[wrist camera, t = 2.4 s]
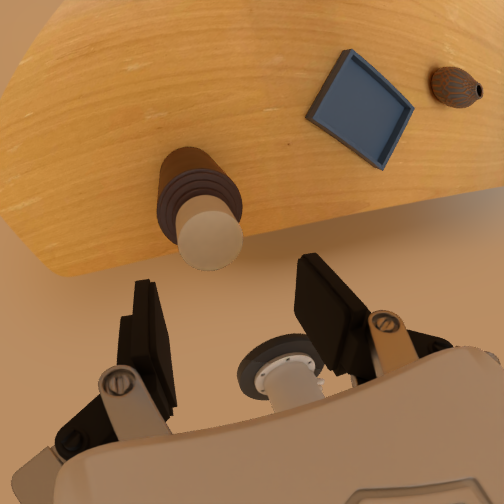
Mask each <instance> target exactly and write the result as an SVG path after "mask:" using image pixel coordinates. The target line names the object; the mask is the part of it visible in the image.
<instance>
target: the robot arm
mask: <svg viewBox="0 0 504 504" xmlns="http://www.w3.org/2000/svg"><path fill="white" fill-rule="evenodd" d="M294 312H295V316H296V318H297V319H298V321H299V323H300V324H301V326H302V327H303V329H304V331H305V332H306V334H307V336H308V337H309V339H310V340H311V342H312V344H313V345H314V347H315V349H316V350H317V352H318V353H319V355H320V357H321V358H322V360H323V361H324V363H325V365H326V366H327V368H328V369H329V370H330V371H331V370H333V372H334V373H335V375H336V376H340V375H343V374H345V373H348V374H350V375H351V382H352V386H353V388H351V389H348V390H345V391H343V392H340V393H337V394H334V395H332V396H329V397H326V398H325V396H324V395H323V393H322V386H321V385H322V384H324V379H320V378H316V376H315V375H314V373H313V372H314V370H315V363H314V361H313V359H312V358H311V356H309V355H308V354H305V353H301V352H293V353H287V354H283V355H280V356H278V357H276V358H274V359H272V360H270V361H269V362H267V363H266V364H265V365H263V366H262V367H261V368H260V370H259V371H258V372H257V374H256V376H255V379H254V384H255V387H256V389H257V391H258V392H260V393H261V394H264V395H268V398H269V400H270V403H271V405H272V408H273V410H274V412H275V413H274V414H270V415H267V416H262V417H259V418H255V419H250V420H246V421H242V422H238V423H233V424H228V425H223V426H219V427H213V428H208V429H202V430H196V431H190V432H184V433H177V434H172V432H171V431H170V429H169V427H168V426H167V424H166V421H167V420H168V419H169V418H170V416H173V407H177V400H176V394H175V386H174V378H173V370H172V363H171V362H172V361H171V353H170V343H169V336H168V332H167V328H166V324H165V320H164V316H163V312H162V308H161V304H160V301H159V296H158V292H157V288H156V283H155V282H150V280H149V279H146V280H139V281H136V282H135V291H134V302H133V314H132V315H129V316H122V317H121V320H120V330H119V341H118V353H117V366H113V367H111V368H109V369H107V370H106V371H105V372H104V373H103V374H102V375H101V377H100V379H99V382H98V387H99V392H100V394H99V395H98V396H97V397H96V398H95V399H93V400H92V401H91V402H90V403H89V404H88V405H87V406H86V407H85V408H84V409H82V410H81V411H80V412H79V413H78V414H77V415H76V416H74V417H73V418H72V419H71V420H70V421H69V422H68V423H67V424H65V425H64V426H63V427H62V428H61V429H60V430H59V431H58V433H57V435H56V438H55V445H54V446H53V447H51V448H50V447H49V446H47V447H46V448H45V449H43V450H42V451H41V452H40V453H39V454H38V455H36V456H35V457H34V458H32V459H31V460H30V461H29V462H28V463H26V464H25V465H24V466H23V467H21V468H20V469H19V470H18V471H16V472H15V474H14V475H13V477H12V480H11V486H12V489H13V492H14V494H15V496H16V497H17V499H18V500H19V502H20V503H21V504H504V369H503V368H502V367H501V365H500V362H499V359H498V358H497V357H496V356H495V355H494V354H492V353H490V352H486V351H483V350H481V349H479V348H476V347H471V346H462V347H460V346H456V347H453V345H452V344H451V343H450V342H448V341H447V340H445V339H443V338H440V337H435V336H431V335H427V334H423V333H419V332H415V331H411V330H407V329H406V327H405V325H404V323H403V321H402V319H401V318H400V317H399V316H398V315H397V314H395V313H393V312H390V311H386V310H379V311H375V312H373V313H371V312H370V311H369V310H368V309H367V307H366V306H365V305H364V303H363V302H362V301H361V300H360V299H359V298H358V297H357V296H356V295H355V294H354V293H353V291H352V290H351V289H350V288H349V287H348V286H347V285H346V284H345V283H344V282H343V281H342V280H341V279H340V278H339V276H338V275H337V274H336V273H335V272H334V271H333V270H332V269H331V268H330V267H329V266H328V265H327V264H326V263H325V262H324V261H323V260H322V258H321V257H320V256H319V255H318V254H317V253H310V254H304V255H302V257H301V258H300V259H298V263H297V277H296V290H295V303H294Z"/></svg>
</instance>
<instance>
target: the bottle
mask: <svg viewBox="0 0 504 504" xmlns="http://www.w3.org/2000/svg"><path fill="white" fill-rule="evenodd" d="M200 195H211V196H215V197H217V198H219V199H221V200H222V201H223V202H225V203H226V205H227V206H228V207H229V209H230V211H231V212H232V214H233V215H234V217H235V218H236V220H237V222H238V223H239V222H240V219H241V215H242V199H241V195H240V193H239V190H238V188H237V187H236V185H235V184H234V183H233V181H232V180H231V179H230V178H229V177H228V176H227V175H226V174H225V173H224V172H223V170H222V169H221V168H220V167H219V166H218V165H217V164H216V163H215V162H214V161H213V160H212V158H211V157H210V156H209V155H208V154H207V153H205V152H204V151H202V150H201V149H198V148H195V147H183V148H179V149H177V150H175V151H173V152H172V153H170V154H169V155H168V156H167V157H166V159H165V160H164V162H163V164H162V166H161V170H160V178H159V188H158V200H157V219H158V223H159V226H160V228H161V230H162V232H163V233H164V234H165V236H166V237H167V238H168V239H169V240H170V241H172V242H173V243H174V244H176V245H178V242H177V233H176V216H177V213H178V211H179V209H180V208H181V206H182V205H183V204H184V203H185V202H187V201H188V200H189V199H191V198H193V197H196V196H200Z"/></svg>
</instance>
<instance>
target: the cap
mask: <svg viewBox="0 0 504 504" xmlns="http://www.w3.org/2000/svg"><path fill="white" fill-rule="evenodd" d="M176 233H177V242H178V249H179V252H180V255H181V256H182V258H183V259H184V261H185V262H186V263H187V264H189V265H190V266H191V267H193V268H196V269H198V270H203V271H214V270H218V269H221V268H224V267H226V266H227V265H229V264H230V263H231V262H233V260H235V259H236V257H237V256H238V254H239V253H240V251H241V248H242V245H243V232H242V229H241V227H240V225H239V223H238V222H237V220H236V218H235V217H234V215H233V214H232V212H231V211H230V209H229V207H228V206H227V205H226V203H225V202H223V201H222V200H221V199H219V198H217V197H215V196H211V195H200V196H196V197H193V198H191V199H189V200H188V201H187V202H185V203H184V204H183V205H182V206H181V208H180V209H179V211H178V213H177V216H176Z"/></svg>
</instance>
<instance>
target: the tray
mask: <svg viewBox="0 0 504 504" xmlns="http://www.w3.org/2000/svg"><path fill="white" fill-rule="evenodd" d="M414 109H415V108H414V107H413V106H412V105H411V104H410V102H409V101H408V100H407V99H406V98H405V97H404V96H403V95H402V94H401V93H400V92H399V91H398V90H397V89H396V88H395V87H394V86H393V85H392V84H391V83H390V82H389V81H388V80H387V79H386V78H385V77H384V76H382V75H381V74H380V73H379V72H378V71H377V70H376V69H375V68H374V67H373V66H372V65H370V64H369V63H368V62H367V61H366V60H365V59H364V58H362V57H361V56H360V55H359V54H358V53H356V52H355V51H354V50H353V49H348V50H343V52H342V54H341V55H340V57H339V59H338V61H337V62H336V64H335V66H334V68H333V69H332V71H331V73H330V74H329V76H328V78H327V80H326V81H325V83H324V85H323V87H322V89H321V90H320V92H319V94H318V96H317V97H316V99H315V101H314V103H313V104H312V106H311V108H310V110H309V111H308V113H307V115H306V117H305V118H306V119H308V120H309V121H311V122H312V123H314V124H315V125H317V126H318V127H320V128H321V129H323V130H324V131H326V132H327V133H328V134H330V135H331V136H333V137H334V138H336V139H337V140H338V141H340V142H341V143H343V144H344V145H345V146H347V147H348V148H350V149H351V150H352V151H354V152H355V153H356V154H358V155H359V156H360V157H362V158H363V159H364V160H366V161H367V162H368V163H369V164H371V165H372V166H373V167H374V168H377V169H380V170H382V171H383V170H384V168H385V166H386V164H387V162H388V160H389V158H390V156H391V155H392V153H393V151H394V149H395V147H396V145H397V143H398V141H399V139H400V137H401V135H402V133H403V131H404V129H405V127H406V125H407V123H408V121H409V119H410V117H411V115H412V113H413V111H414Z"/></svg>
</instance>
